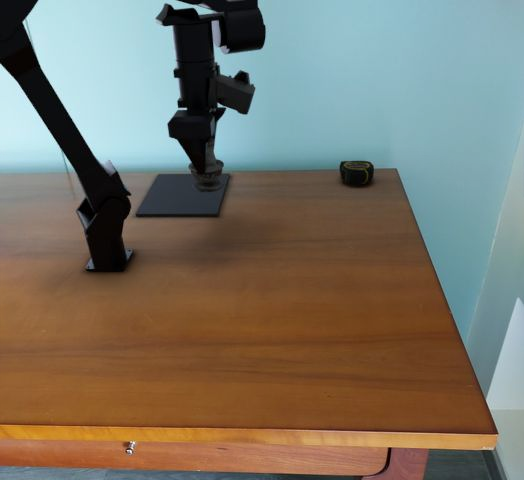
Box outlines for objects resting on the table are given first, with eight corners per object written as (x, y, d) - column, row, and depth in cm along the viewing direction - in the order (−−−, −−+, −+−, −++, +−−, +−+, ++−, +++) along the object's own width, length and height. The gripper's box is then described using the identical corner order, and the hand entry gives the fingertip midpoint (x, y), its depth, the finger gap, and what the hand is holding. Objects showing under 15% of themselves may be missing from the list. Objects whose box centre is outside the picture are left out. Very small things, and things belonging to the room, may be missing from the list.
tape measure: (370, 175, 113) (372, 157, 111) (374, 188, 108) (376, 170, 106) (338, 175, 114) (339, 158, 111) (341, 188, 109) (342, 170, 106)
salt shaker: (222, 177, 91) (216, 103, 84) (228, 190, 87) (222, 114, 79) (188, 181, 91) (179, 107, 83) (192, 195, 86) (183, 118, 78)
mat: (217, 216, 101) (217, 213, 100) (135, 216, 102) (135, 213, 101) (229, 175, 116) (229, 173, 116) (158, 176, 117) (158, 173, 117)
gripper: (242, 72, 69) (248, 188, 79) (256, 44, 83) (260, 145, 93) (158, 74, 70) (175, 188, 80) (186, 46, 84) (197, 145, 94)
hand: (206, 165), depth 86 cm, fingers closed on salt shaker, 7 cm apart
